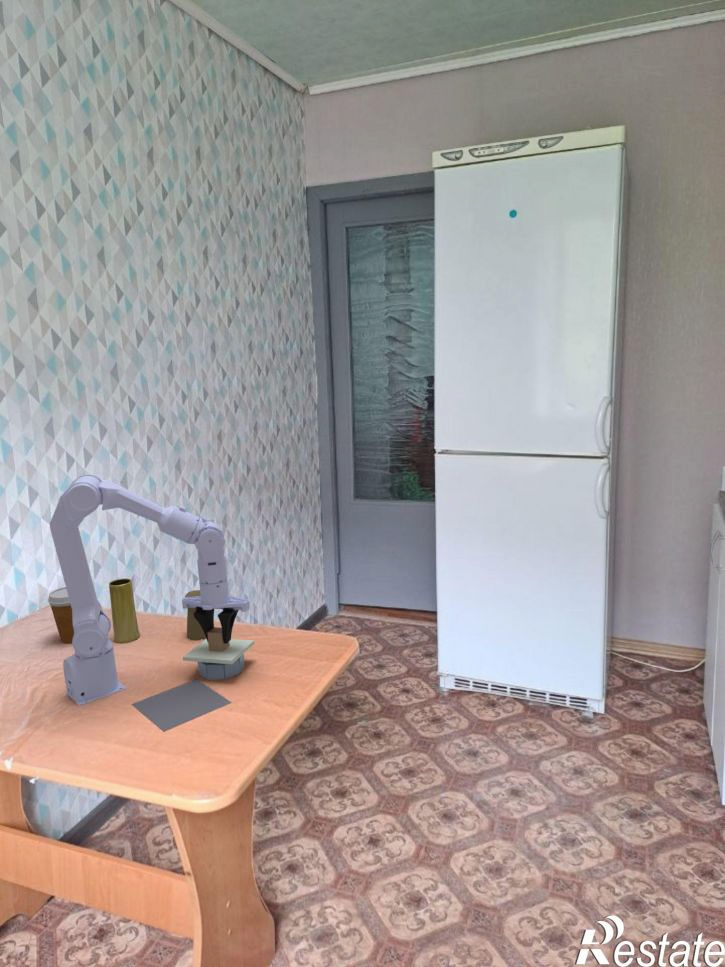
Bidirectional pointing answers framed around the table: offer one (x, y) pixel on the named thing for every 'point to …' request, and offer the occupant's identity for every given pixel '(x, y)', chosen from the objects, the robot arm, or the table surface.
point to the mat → (180, 704)
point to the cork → (193, 621)
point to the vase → (123, 611)
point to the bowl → (220, 669)
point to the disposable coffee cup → (62, 613)
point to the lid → (218, 649)
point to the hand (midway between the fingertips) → (219, 641)
